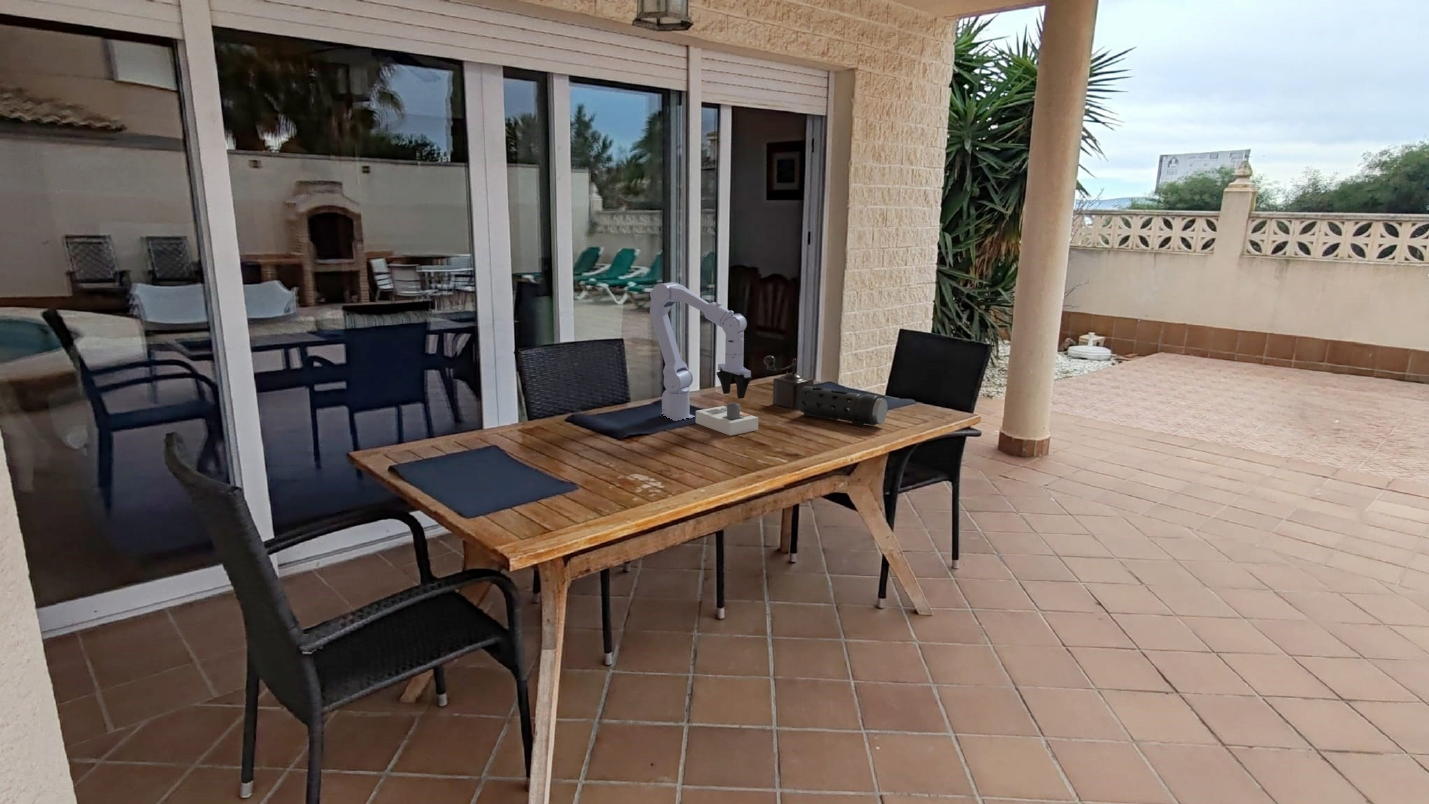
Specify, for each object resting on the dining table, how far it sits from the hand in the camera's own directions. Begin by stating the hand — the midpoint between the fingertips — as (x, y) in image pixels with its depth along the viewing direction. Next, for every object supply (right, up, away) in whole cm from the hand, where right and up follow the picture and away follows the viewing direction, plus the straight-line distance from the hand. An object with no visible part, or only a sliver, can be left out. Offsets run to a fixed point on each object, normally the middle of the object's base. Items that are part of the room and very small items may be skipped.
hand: (733, 395), depth 241 cm
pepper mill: (+19, -3, +27) cm, 33 cm away
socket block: (-2, -10, 0) cm, 10 cm away
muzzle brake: (+35, -9, +7) cm, 37 cm away
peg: (0, -10, -4) cm, 11 cm away
